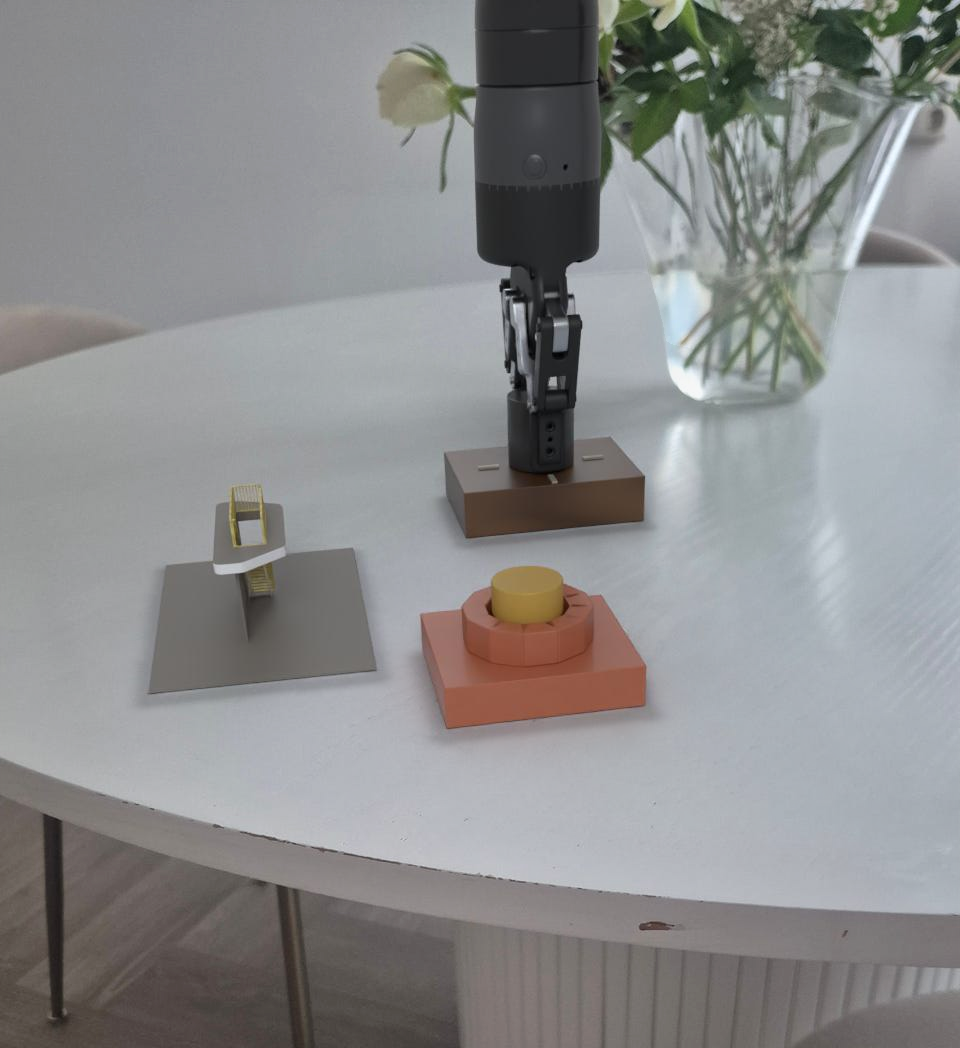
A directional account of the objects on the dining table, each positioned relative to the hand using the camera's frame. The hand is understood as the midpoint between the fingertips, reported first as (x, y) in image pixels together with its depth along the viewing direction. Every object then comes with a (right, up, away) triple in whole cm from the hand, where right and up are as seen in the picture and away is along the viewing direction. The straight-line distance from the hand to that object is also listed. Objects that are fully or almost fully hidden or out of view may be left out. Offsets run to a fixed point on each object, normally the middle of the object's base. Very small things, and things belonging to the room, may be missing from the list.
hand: (539, 456), depth 85 cm
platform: (-17, -13, -11) cm, 24 cm away
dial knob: (0, 0, 0) cm, 0 cm away
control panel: (0, -3, +2) cm, 4 cm away
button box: (-1, -17, -19) cm, 26 cm away
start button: (-2, -15, -21) cm, 26 cm away
